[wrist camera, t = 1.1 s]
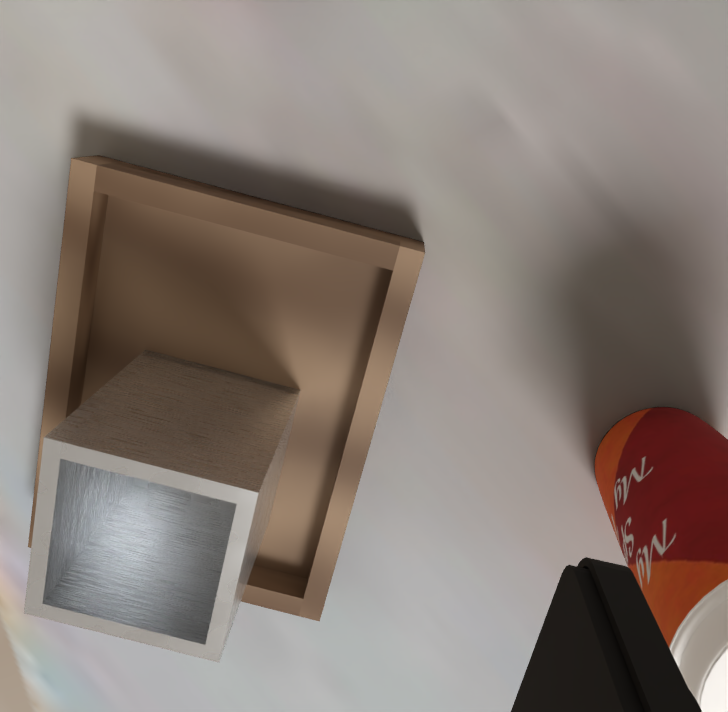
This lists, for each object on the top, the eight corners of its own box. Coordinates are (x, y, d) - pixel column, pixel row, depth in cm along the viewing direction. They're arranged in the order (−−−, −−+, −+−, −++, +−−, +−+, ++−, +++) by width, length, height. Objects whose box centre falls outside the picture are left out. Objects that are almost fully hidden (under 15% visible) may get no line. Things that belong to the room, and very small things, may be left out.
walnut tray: (98, 155, 29) (71, 158, 27) (423, 242, 29) (425, 252, 27) (54, 518, 35) (28, 547, 33) (325, 587, 35) (319, 621, 33)
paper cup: (544, 426, 32) (639, 645, 18) (711, 355, 30) (947, 539, 17) (607, 560, 34) (735, 845, 20) (767, 500, 32) (1017, 766, 19)
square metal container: (146, 349, 31) (43, 437, 22) (300, 390, 31) (258, 492, 22) (124, 485, 33) (24, 613, 24) (268, 522, 33) (218, 662, 24)
